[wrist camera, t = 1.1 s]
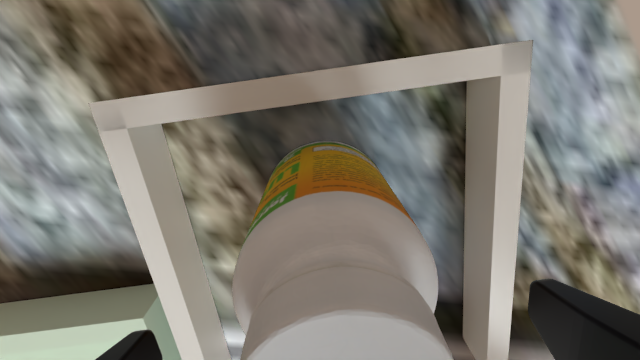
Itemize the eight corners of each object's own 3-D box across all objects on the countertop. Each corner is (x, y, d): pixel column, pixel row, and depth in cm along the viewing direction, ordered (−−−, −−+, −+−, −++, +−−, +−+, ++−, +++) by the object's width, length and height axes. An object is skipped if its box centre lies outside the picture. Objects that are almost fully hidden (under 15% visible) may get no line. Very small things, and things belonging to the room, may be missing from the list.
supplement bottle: (288, 121, 14) (236, 224, 4) (401, 161, 14) (563, 323, 5) (253, 227, 15) (162, 467, 6) (357, 259, 16) (419, 517, 7)
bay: (480, 334, 18) (506, 375, 15) (215, 367, 18) (201, 412, 16) (492, 45, 13) (532, 39, 10) (128, 97, 13) (87, 102, 11)
